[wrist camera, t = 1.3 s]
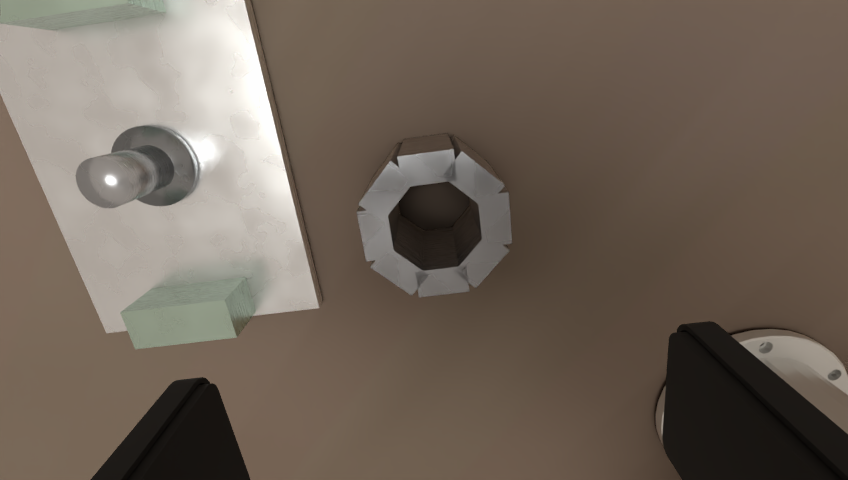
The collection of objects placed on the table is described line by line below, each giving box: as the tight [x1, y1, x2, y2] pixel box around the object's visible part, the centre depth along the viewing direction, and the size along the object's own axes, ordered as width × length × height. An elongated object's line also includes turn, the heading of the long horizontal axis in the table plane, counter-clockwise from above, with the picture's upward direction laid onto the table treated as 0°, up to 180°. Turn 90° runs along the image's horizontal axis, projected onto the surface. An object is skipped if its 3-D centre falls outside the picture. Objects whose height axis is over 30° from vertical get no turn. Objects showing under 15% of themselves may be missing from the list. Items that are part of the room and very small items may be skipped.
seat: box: [0, 0, 323, 349], centre depth 23 cm, size 20×14×6 cm
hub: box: [357, 133, 512, 297], centre depth 23 cm, size 7×7×6 cm
